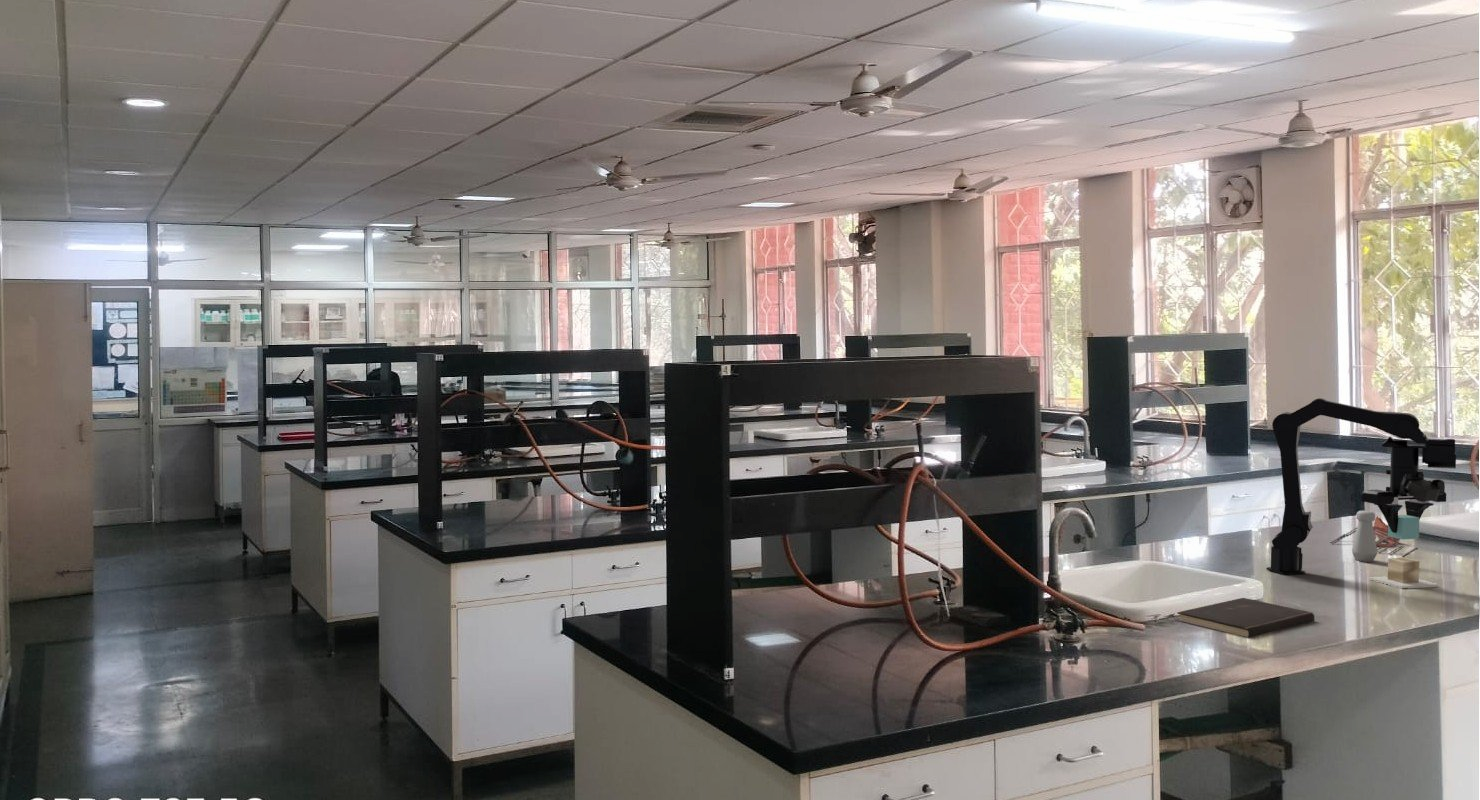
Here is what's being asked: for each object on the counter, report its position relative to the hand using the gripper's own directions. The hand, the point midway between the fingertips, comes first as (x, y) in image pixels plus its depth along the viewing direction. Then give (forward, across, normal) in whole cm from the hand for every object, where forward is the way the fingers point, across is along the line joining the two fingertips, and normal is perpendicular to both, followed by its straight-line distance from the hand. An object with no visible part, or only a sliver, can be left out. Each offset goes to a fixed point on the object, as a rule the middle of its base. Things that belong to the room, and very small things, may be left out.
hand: (1403, 532), depth 264 cm
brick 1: (+1, 0, 0) cm, 1 cm away
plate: (+12, +1, 0) cm, 12 cm away
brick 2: (+12, +1, 0) cm, 12 cm away
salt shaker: (+12, +12, +26) cm, 31 cm away
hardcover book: (+13, -58, -23) cm, 64 cm away
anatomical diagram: (+13, +29, +40) cm, 51 cm away
